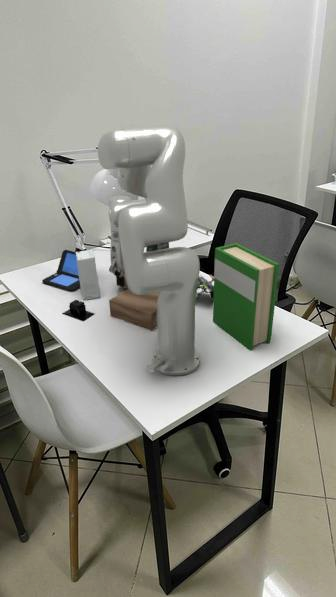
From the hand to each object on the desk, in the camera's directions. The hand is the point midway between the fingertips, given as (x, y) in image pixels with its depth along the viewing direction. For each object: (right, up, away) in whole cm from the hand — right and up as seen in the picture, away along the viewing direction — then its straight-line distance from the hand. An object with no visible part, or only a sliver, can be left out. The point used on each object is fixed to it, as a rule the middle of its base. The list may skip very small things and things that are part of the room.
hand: (126, 282), depth 152 cm
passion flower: (+26, -7, -9) cm, 28 cm away
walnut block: (+8, -10, -15) cm, 19 cm away
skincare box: (-12, -4, -3) cm, 13 cm away
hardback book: (+36, -16, -26) cm, 47 cm away
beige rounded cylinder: (0, -1, 0) cm, 1 cm away
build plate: (-14, -11, -14) cm, 23 cm away
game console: (-22, 0, +7) cm, 23 cm away
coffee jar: (+11, +6, +15) cm, 19 cm away
